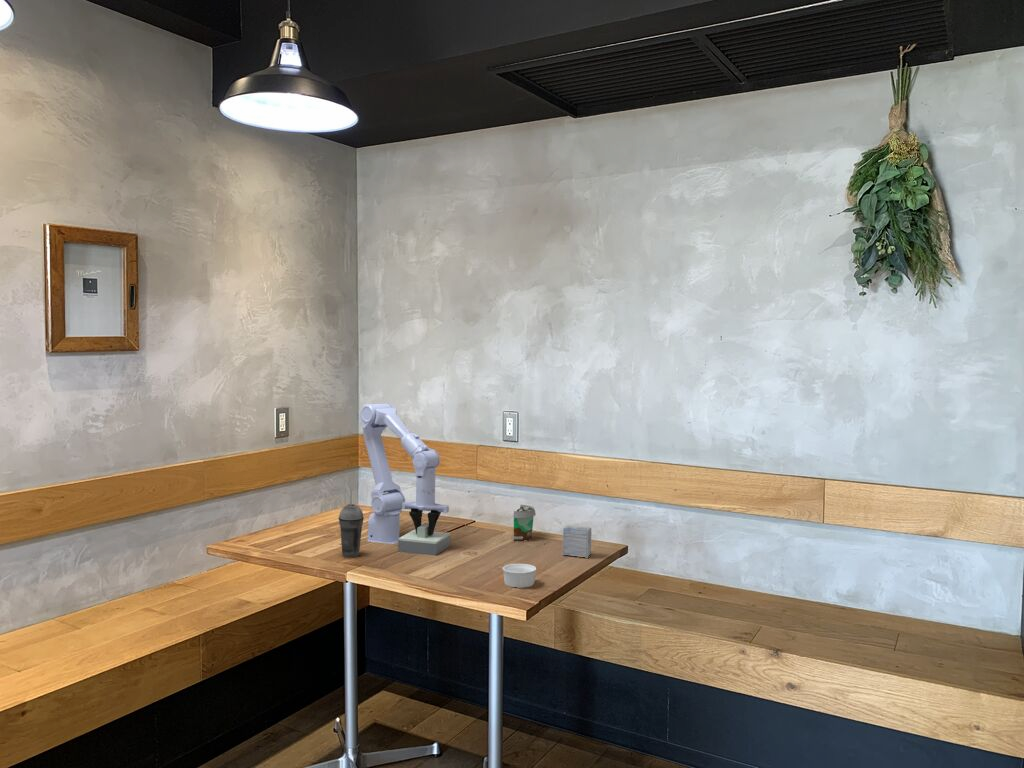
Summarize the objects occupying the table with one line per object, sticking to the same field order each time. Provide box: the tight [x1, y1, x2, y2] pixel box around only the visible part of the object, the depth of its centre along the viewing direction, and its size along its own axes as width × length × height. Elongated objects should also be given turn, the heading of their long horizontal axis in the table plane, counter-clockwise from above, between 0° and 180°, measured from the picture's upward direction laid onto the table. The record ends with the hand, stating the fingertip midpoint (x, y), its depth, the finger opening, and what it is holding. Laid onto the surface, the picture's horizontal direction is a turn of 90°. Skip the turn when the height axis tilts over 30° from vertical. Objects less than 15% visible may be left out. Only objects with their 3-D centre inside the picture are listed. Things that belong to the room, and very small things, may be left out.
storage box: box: [397, 534, 451, 556], centre depth 234 cm, size 12×12×4 cm
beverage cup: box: [338, 488, 365, 559], centre depth 224 cm, size 7×7×20 cm
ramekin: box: [502, 563, 537, 589], centre depth 203 cm, size 9×9×4 cm
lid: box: [398, 523, 451, 544], centre depth 234 cm, size 12×12×4 cm
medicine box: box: [562, 524, 592, 557], centre depth 232 cm, size 8×4×9 cm, turn 71°
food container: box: [512, 504, 537, 542], centre depth 252 cm, size 12×6×10 cm, turn 168°
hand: (424, 534), depth 234 cm, fingers open, 3 cm apart
